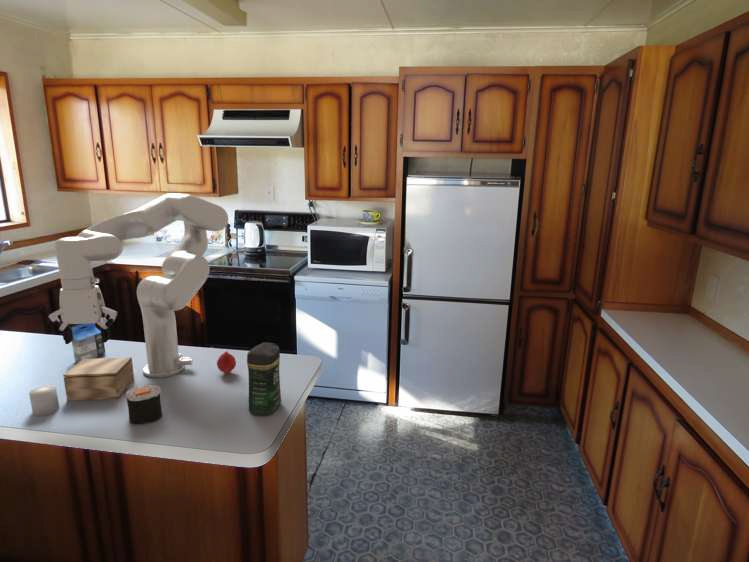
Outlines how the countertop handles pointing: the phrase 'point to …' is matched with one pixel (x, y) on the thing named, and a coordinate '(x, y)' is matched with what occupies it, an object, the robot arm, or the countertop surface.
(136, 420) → the sushi
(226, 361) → the onion
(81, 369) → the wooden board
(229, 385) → the countertop surface
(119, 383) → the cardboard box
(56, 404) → the cream-capped white cylinder
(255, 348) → the coffee jar
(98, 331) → the label tape box
